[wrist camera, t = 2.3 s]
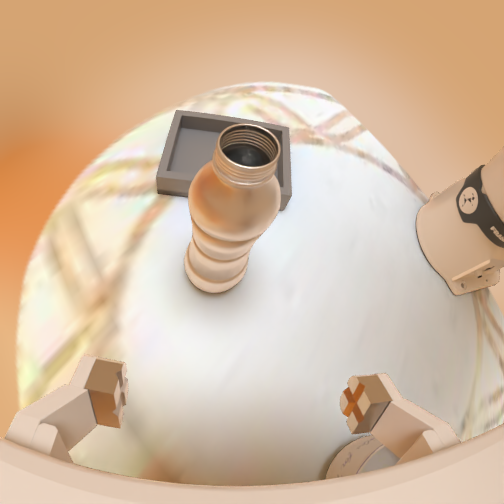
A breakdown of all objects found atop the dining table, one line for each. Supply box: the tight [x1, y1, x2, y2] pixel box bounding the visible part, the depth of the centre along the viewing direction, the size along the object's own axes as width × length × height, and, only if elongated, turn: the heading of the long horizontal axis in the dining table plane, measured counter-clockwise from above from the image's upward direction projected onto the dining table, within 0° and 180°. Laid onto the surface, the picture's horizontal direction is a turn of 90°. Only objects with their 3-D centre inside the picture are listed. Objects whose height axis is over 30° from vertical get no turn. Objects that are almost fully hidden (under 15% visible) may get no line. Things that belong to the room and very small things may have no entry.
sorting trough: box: [156, 110, 292, 211], centre depth 39 cm, size 16×12×4 cm
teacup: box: [325, 435, 400, 480], centre depth 24 cm, size 14×11×8 cm
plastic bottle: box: [184, 123, 281, 293], centre depth 26 cm, size 6×7×20 cm
